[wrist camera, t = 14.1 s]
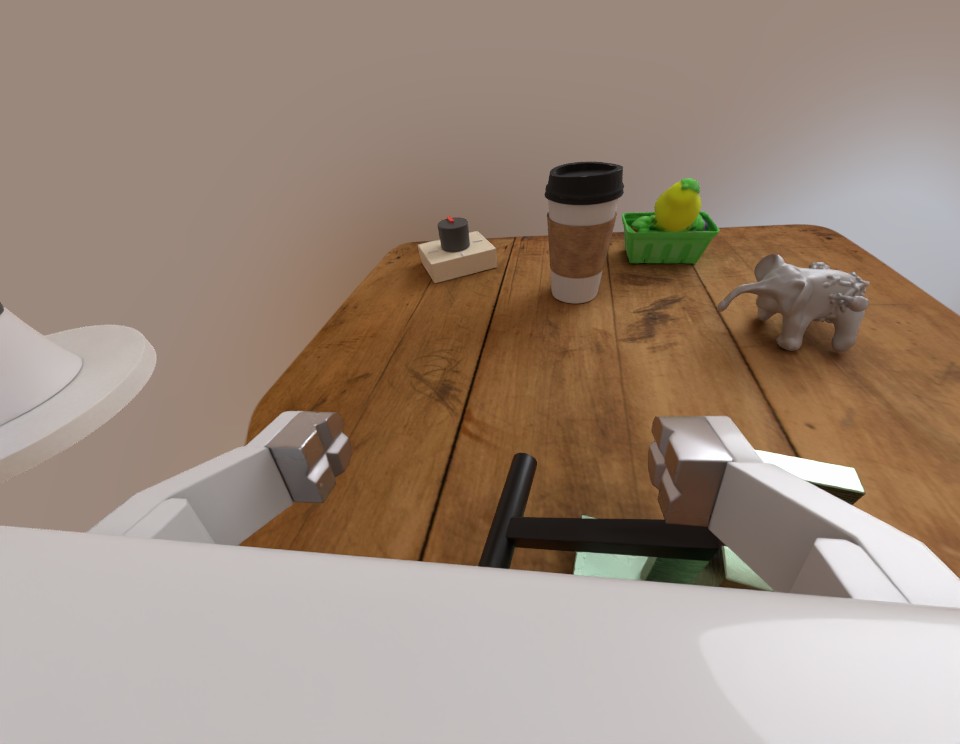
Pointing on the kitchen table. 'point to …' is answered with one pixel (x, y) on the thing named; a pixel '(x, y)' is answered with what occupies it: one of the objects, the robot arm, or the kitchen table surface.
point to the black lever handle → (584, 529)
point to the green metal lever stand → (725, 562)
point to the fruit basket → (670, 228)
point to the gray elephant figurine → (806, 300)
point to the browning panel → (458, 258)
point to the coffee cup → (581, 226)
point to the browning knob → (454, 234)
